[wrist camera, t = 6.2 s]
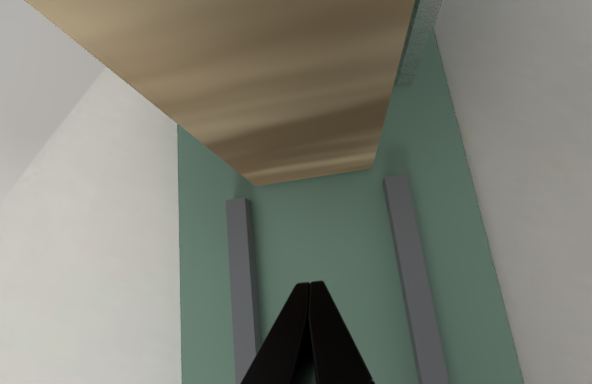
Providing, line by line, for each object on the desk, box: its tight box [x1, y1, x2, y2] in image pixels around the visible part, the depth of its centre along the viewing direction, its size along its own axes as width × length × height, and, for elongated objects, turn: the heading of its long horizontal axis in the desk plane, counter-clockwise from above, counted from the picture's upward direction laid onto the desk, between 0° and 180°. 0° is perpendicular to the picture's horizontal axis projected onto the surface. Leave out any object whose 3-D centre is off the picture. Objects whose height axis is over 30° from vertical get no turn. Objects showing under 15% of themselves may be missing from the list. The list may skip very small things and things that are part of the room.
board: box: [177, 27, 524, 384], centre depth 16 cm, size 24×15×2 cm, turn 6°
